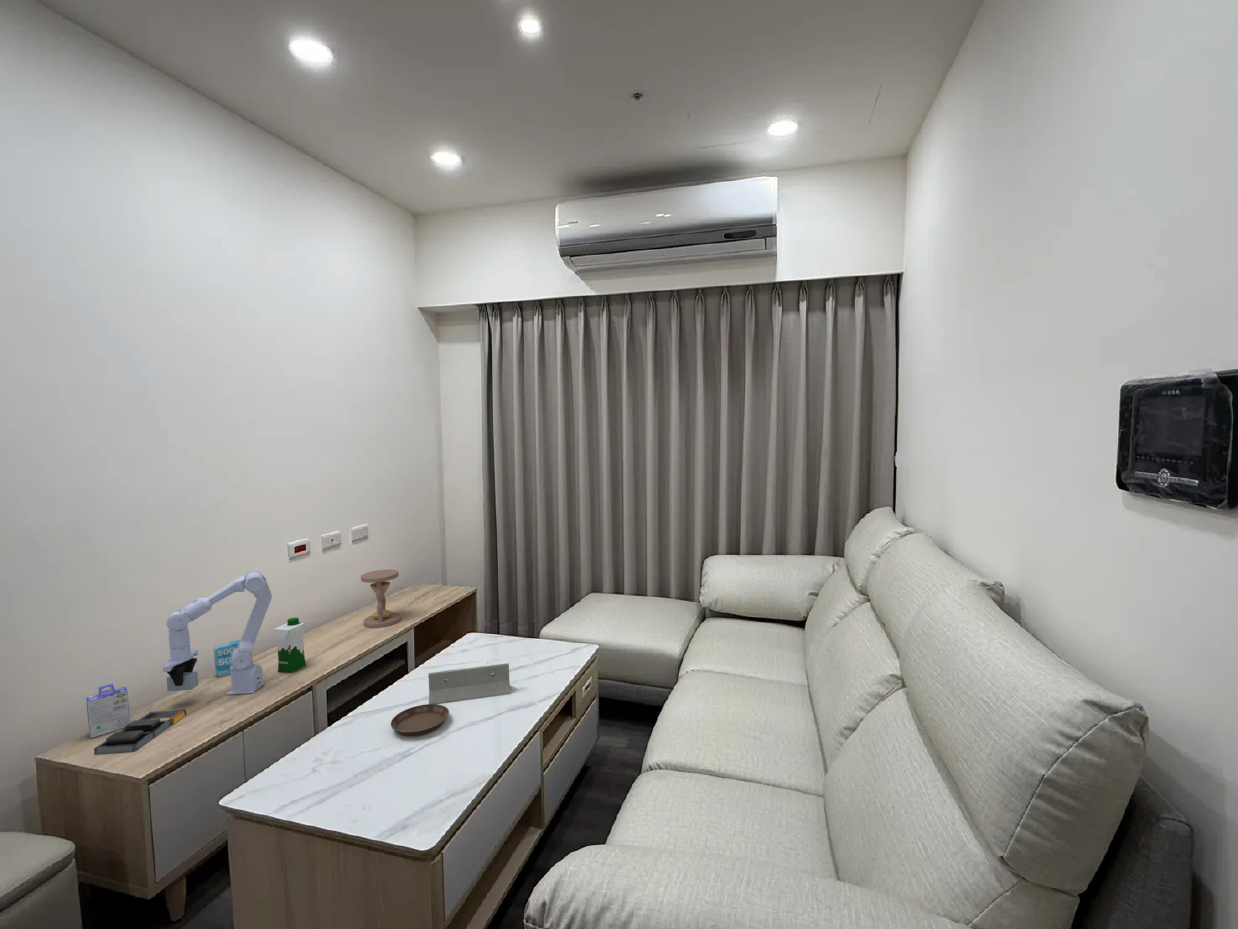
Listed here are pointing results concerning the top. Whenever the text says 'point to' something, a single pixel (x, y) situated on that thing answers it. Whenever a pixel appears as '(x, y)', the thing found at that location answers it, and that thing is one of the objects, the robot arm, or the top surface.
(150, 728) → the grey tray
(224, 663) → the data package
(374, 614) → the hourglass
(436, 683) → the barrier
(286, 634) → the milk carton
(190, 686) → the grey-blue rectangular block
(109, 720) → the ink cartridge box
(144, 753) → the top surface
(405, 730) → the plant saucer
